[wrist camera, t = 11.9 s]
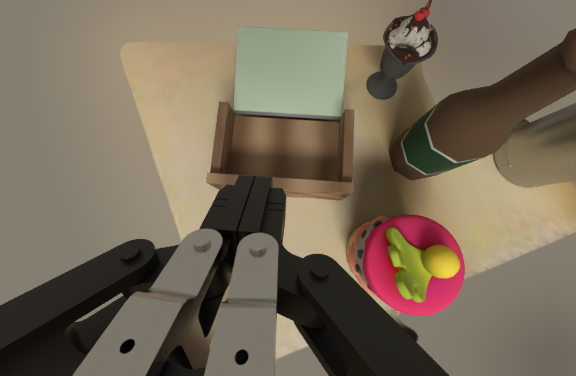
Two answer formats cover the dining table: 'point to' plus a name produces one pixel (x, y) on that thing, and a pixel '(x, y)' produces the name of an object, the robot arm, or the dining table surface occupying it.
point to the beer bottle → (484, 115)
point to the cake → (407, 263)
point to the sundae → (403, 51)
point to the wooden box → (285, 153)
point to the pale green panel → (290, 72)
